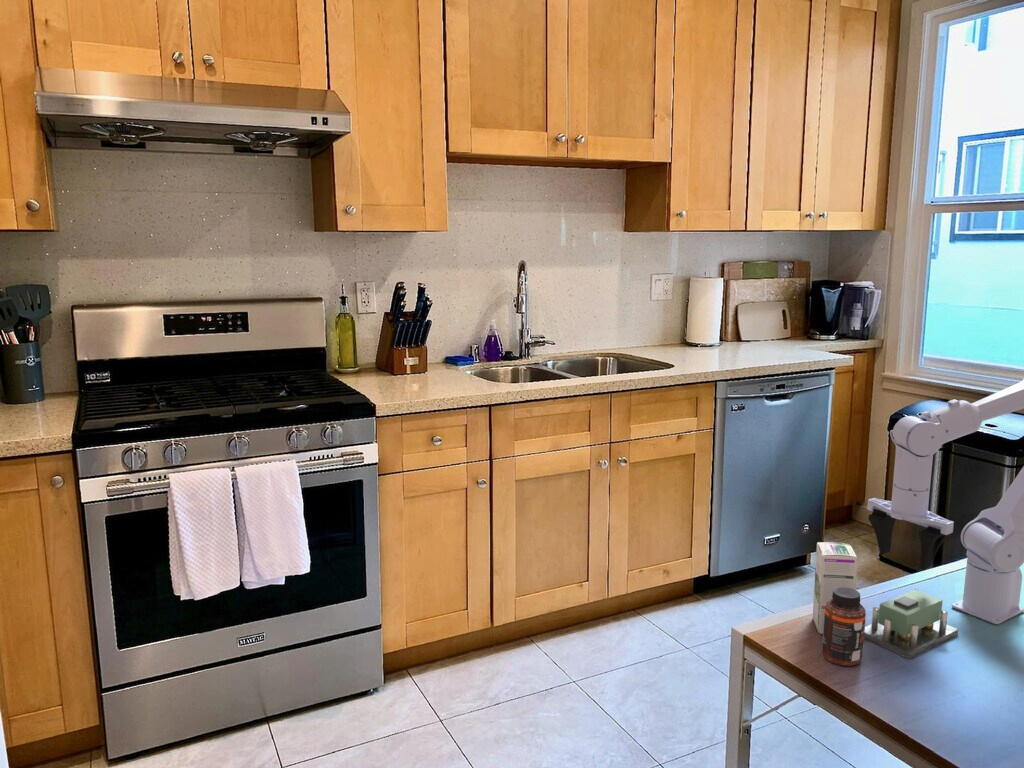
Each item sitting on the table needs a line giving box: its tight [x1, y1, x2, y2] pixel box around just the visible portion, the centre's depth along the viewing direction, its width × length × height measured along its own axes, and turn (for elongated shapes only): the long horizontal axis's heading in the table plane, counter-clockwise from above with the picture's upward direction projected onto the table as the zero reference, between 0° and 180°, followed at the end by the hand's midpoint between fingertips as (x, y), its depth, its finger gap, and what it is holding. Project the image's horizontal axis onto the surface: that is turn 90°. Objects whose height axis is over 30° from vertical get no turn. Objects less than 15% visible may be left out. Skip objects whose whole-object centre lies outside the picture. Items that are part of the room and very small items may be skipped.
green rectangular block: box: [878, 588, 943, 636], centre depth 129 cm, size 10×5×4 cm, turn 121°
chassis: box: [864, 606, 959, 660], centre depth 130 cm, size 14×9×4 cm, turn 122°
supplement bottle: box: [822, 587, 867, 667], centre depth 123 cm, size 6×6×11 cm
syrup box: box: [812, 541, 858, 635], centre depth 132 cm, size 6×6×14 cm
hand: (904, 559), depth 136 cm, fingers open, 7 cm apart
